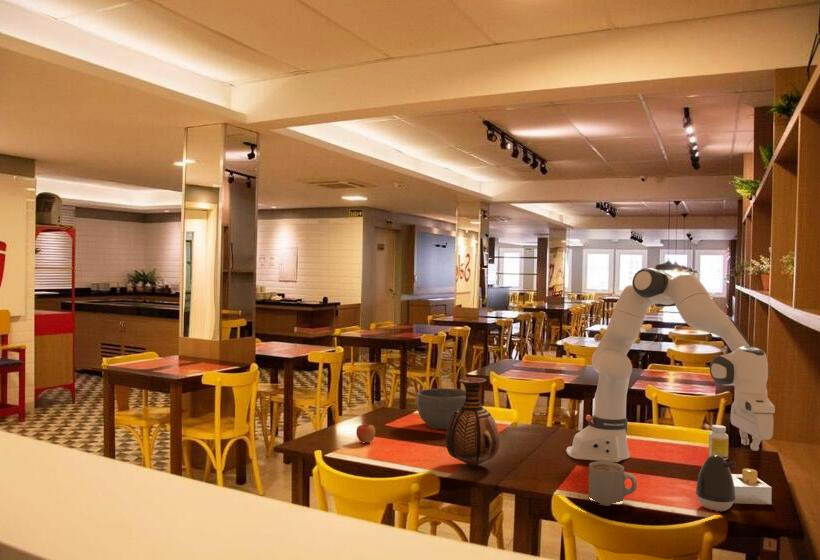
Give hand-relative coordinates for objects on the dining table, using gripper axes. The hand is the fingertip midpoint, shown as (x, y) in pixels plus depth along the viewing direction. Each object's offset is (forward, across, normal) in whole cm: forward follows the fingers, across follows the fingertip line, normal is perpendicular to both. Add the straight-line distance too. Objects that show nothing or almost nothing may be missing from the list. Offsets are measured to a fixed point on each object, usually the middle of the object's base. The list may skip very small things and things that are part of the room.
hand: (749, 447), depth 199 cm
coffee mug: (+15, +7, -42) cm, 45 cm away
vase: (+15, -23, -82) cm, 87 cm away
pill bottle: (+15, -42, +8) cm, 45 cm away
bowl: (+15, -79, -92) cm, 122 cm away
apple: (+15, -50, -122) cm, 133 cm away
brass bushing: (+15, 0, 0) cm, 15 cm away
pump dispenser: (+15, +11, -14) cm, 23 cm away
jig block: (+15, 0, -3) cm, 15 cm away
